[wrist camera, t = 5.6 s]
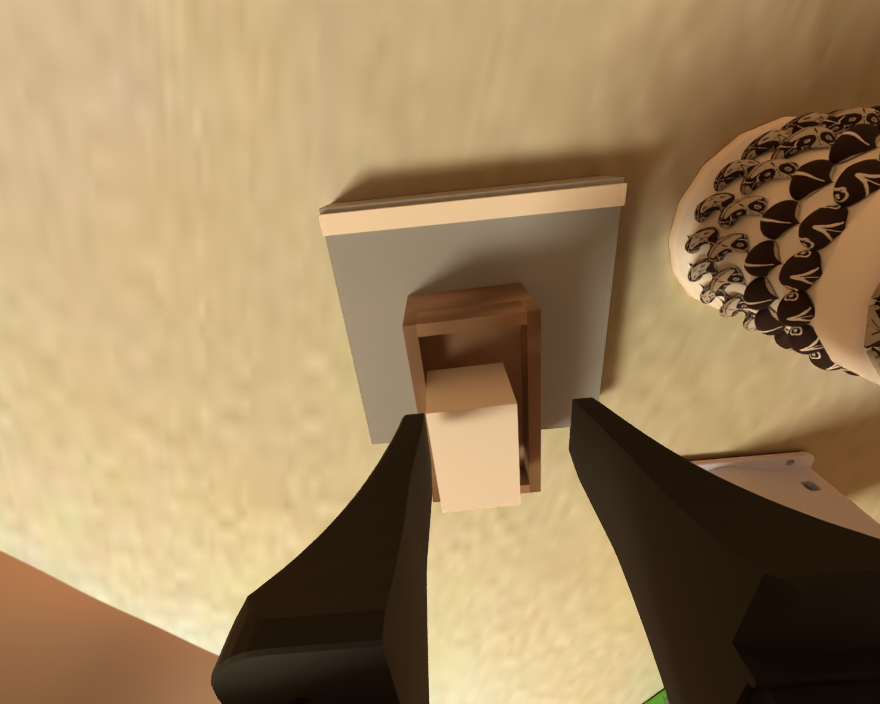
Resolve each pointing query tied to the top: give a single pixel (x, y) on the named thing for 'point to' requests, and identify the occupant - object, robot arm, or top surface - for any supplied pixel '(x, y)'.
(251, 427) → the top surface
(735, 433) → the top surface
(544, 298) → the dock
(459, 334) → the brown wooden tray
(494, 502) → the beige block
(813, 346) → the decorative candle
